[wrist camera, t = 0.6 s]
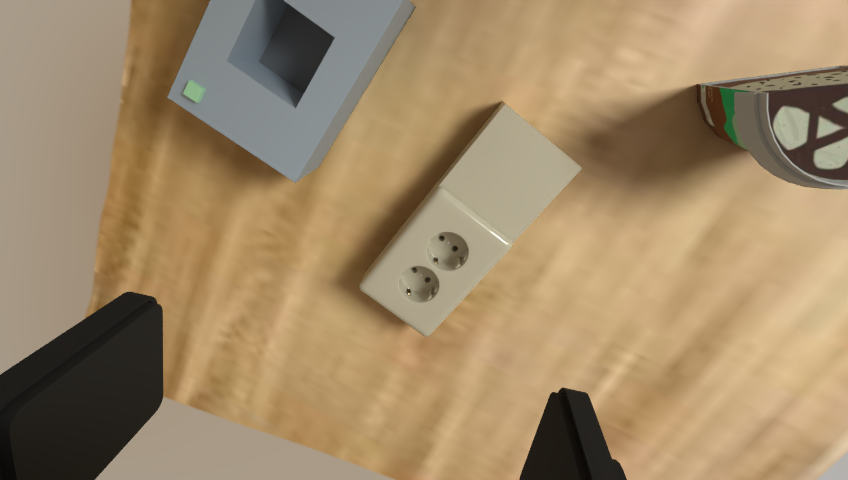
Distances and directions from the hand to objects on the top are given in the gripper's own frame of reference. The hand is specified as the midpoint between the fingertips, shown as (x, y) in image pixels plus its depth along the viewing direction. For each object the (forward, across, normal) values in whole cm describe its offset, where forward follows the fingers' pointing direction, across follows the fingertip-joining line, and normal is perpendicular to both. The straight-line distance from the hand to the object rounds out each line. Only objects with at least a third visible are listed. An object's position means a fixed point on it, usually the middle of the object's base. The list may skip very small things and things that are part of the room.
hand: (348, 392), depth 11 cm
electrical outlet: (+28, -3, +4) cm, 29 cm away
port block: (+28, +11, -6) cm, 30 cm away
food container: (+28, -23, -8) cm, 37 cm away
